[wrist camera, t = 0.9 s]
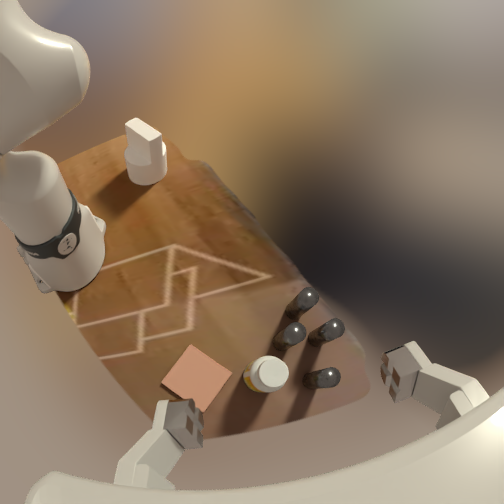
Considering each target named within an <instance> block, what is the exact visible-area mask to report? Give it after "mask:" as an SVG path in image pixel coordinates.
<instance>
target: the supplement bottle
mask: <svg viewBox="0 0 504 504" xmlns="http://www.w3.org/2000/svg"><path fill="white" fill-rule="evenodd" d="M288 375H289V371H288V367H287V366H286V364H285V363H284V362H283V361H282V360H280V359H278V358H276V357H274V356H263V357H261V358H258V359H257V360H255V361H253V362H251V363H250V364H248V365H247V367H246V368H245V370H244V374H243V378H244V382H245V384H246V385H247V386H248V387H249V388H250V389H251V390H253V391H256V392H274V391H277V390H279V389H280V388H281V387H282V386H283V385H284V384H285V382H286V380H287V378H288Z"/></svg>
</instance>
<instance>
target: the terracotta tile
mask: <svg viewBox="0 0 504 504" xmlns="http://www.w3.org/2000/svg"><path fill="white" fill-rule="evenodd" d="M231 374H232V372H230V371H229V370H227V369H226V368H224V367H223V366H221V365H220V364H218V363H217V362H215V361H214V360H212V359H211V358H210V357H208V356H207V355H205V354H204V353H202V352H201V351H200V350H198V349H197V348H195V347H194V346H193V345H191V344H190V345H189V347H188V348H187V349H186V351H185V352H184V353H183V355H182V356H181V357H180V358H179V360H178V361H177V362H176V364H175V365H174V366H173V368H172V369H171V370H170V372H169V373H168V374H167V375H166V377H165V378H164V379H163V381H162V382H161V383H163V384H164V385H165V386H167V387H168V388H169V389H171V390H172V391H173V392H175V393H176V394H177V395H179V396H180V397H182V398H183V399H189V398H192V399H193V400H194V401H195V407H197V408H199V409H200V411H202V412H204V411H205V410H206V409H207V407H208V406H209V405H210V403H211V402H212V400H213V399H214V398H215V396H216V395H217V394H218V392H219V391H220V389H221V388H222V387H223V385H224V384H225V382H226V381H227V380H228V378H229V377H230V375H231Z"/></svg>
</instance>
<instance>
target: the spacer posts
mask: <svg viewBox="0 0 504 504" xmlns="http://www.w3.org/2000/svg"><path fill="white" fill-rule="evenodd" d="M318 300H319V295H318V293H317V291H316V290H315V289H313V288H311V287H306V288H304V289H303V290H302V291H301V292H300V293H299V294H298V295H297V296H296V297H295V298H294V299H293V300H292V301H291V302H290V304H289V305H288V306H287V307H286V310H285V312H286V315H287V316H288V317H289V318H290V319H293V320H295V319H298V318H299V317H301V316H302V315H303V314H304V313H306V312H307V311H308V310H309V309H310V308H312V307H313V306H314V305H315V304H316V303H317V302H318ZM344 330H345V327H344V324H343V322H342V321H341V320H339V319H337V318H334V319H331V320H330V321H328V322H326V323H325V324H323V325H321V326H320V327H318V328H317V329H315V330H313V331H312V332H310V334H309V336H308V341H309V343H310V344H311V345H312V346H314V347H318V346H321V345H323V344H325V343H327V342H330V341H332V340H334V339H336V338H338V337H340V336H342V335H343V333H344ZM305 337H306V329H305V327H304V326H303V325H302V324H301V323H298V322H294V323H291V324H290V325H289V326H287V327H286V328H285V329H284V330H282V331H281V332H280V333H278V334H277V335H276V336H275V337H274V338H273V346H274V347H275V348H276V349H277V350H279V351H284V350H286V349H288V348H290V347H292V346H294V345H296V344H297V343H299V342H301V341H303V340H304V339H305ZM340 378H341V376H340V372H339V371H338V370H337V369H336V368H333V367H330V368H326V369H322V370H318V371H314V372H309V373H307V374H306V375H305V376H304V378H303V384H304V386H305V387H306V388H308V389H319V388H329V387H335V386H336V385H337V384H338V383H339V382H340Z"/></svg>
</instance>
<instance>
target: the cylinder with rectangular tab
mask: <svg viewBox="0 0 504 504" xmlns="http://www.w3.org/2000/svg"><path fill="white" fill-rule="evenodd" d="M125 129H126V135H127V141H128V147H127V148H126V150H125V153H124V157H125V161H126V166H127V171H128V175H129V178H130V180H131V181H132V182H134V183H135V184H138V185H151V184H154V183H156V182H158V181H160V180H161V179H162V178H163V177H164V176H165V174H166V172H167V159H166V146H165V144H164V143H163V142H162V134H161V133H160V132H158V131H157V130H155V129H154V128H152V127H151V126H149V125H148V124H146V123H144V122H143V121H141V120H140V119H138V118H134V119H132V120H130V121H128V122H127V123H125Z"/></svg>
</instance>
